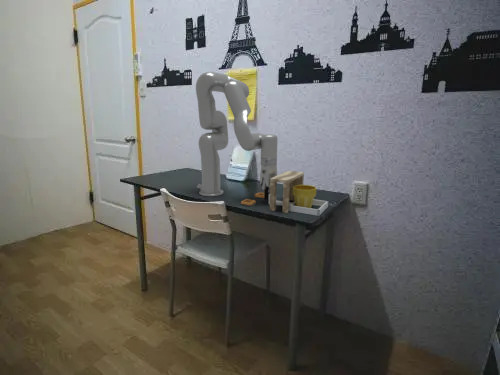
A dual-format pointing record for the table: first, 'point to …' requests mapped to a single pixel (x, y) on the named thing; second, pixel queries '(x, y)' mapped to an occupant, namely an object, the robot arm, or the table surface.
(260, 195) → the pit tray near left
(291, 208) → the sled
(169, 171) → the table surface
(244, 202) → the pit tray near right
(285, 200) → the tunnel
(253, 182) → the table surface
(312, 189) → the plant pot
